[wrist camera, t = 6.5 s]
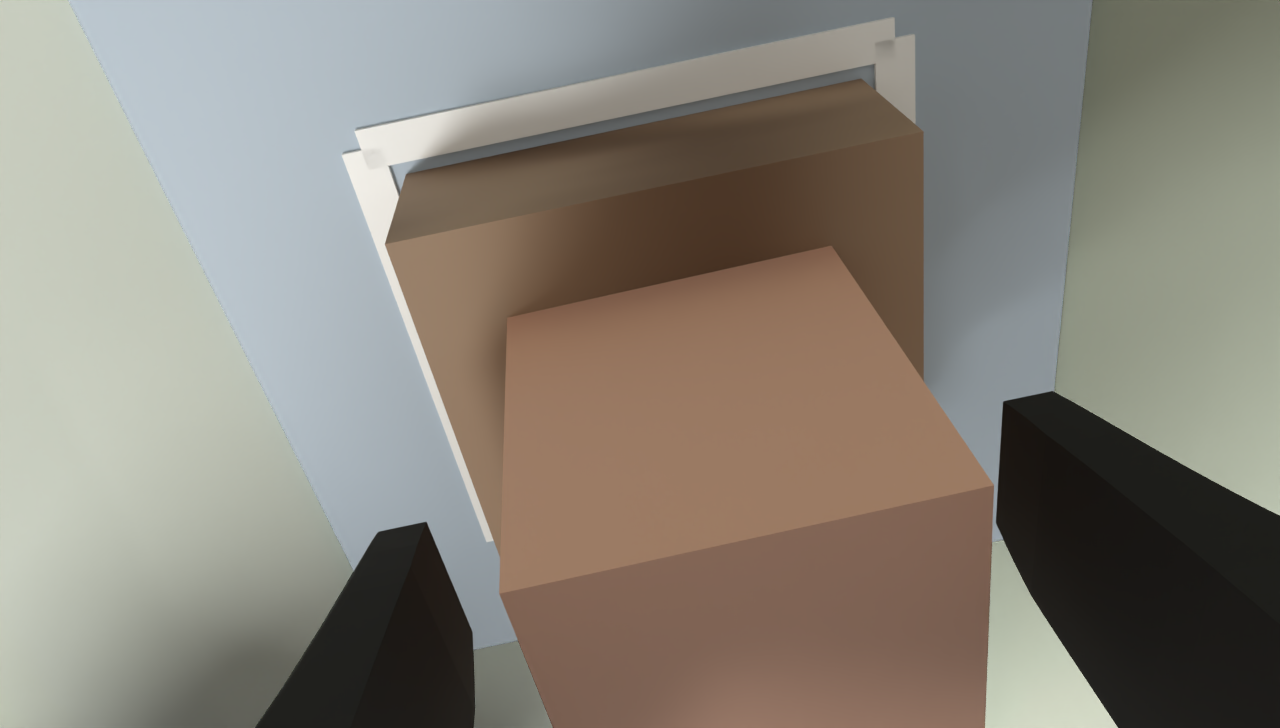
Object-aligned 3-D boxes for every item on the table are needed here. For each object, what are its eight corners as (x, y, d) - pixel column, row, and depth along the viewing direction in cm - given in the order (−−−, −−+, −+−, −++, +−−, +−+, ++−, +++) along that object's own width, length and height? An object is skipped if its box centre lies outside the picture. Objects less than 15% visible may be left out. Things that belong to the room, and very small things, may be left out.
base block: (519, 513, 17) (519, 611, 15) (406, 174, 14) (384, 244, 11) (874, 438, 17) (923, 527, 15) (860, 78, 14) (923, 131, 11)
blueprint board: (402, 650, 20) (400, 667, 19) (68, -30, 12) (53, -23, 12) (1031, 519, 20) (1042, 534, 19) (1100, -247, 12) (1120, -248, 12)
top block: (581, 550, 15) (603, 855, 10) (507, 317, 12) (498, 594, 8) (850, 491, 15) (982, 773, 10) (831, 245, 12) (994, 484, 8)
